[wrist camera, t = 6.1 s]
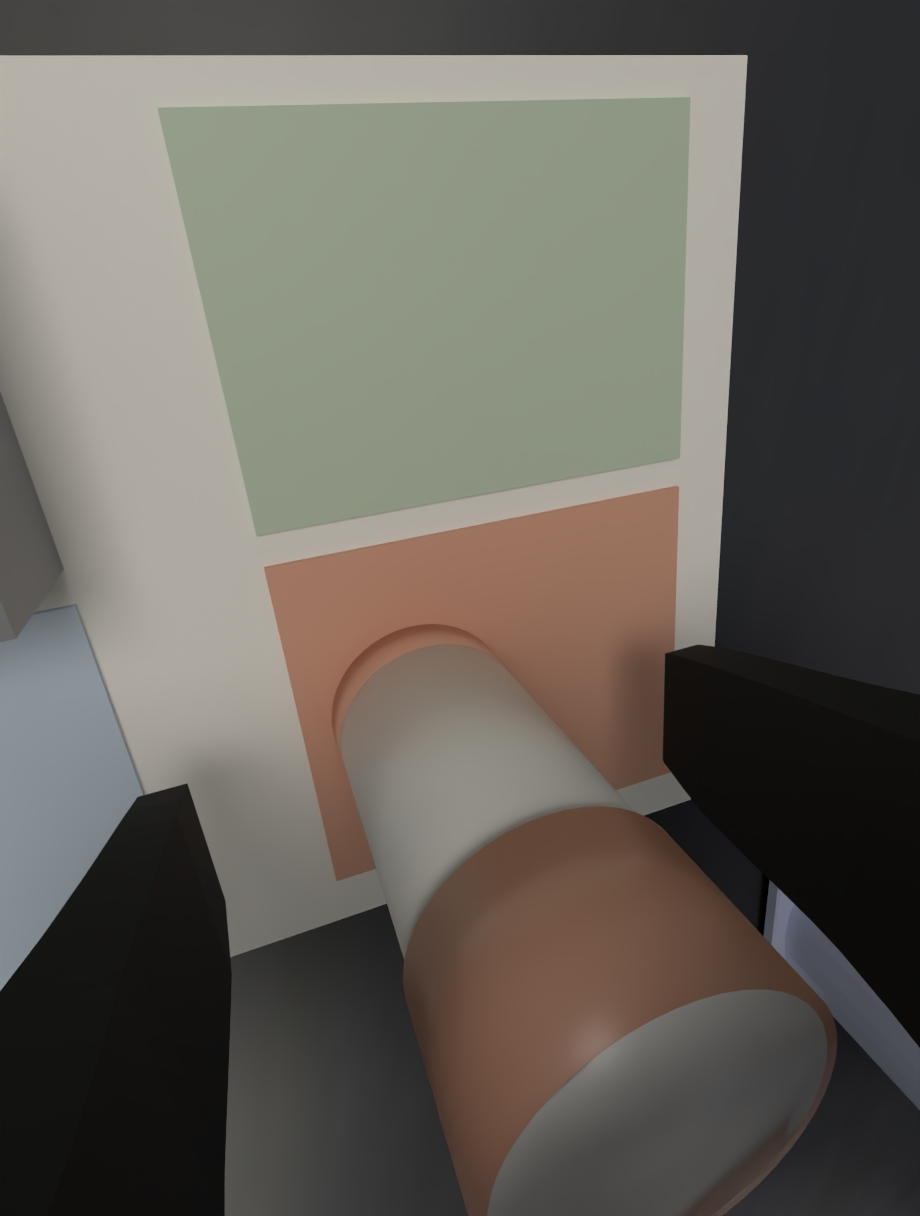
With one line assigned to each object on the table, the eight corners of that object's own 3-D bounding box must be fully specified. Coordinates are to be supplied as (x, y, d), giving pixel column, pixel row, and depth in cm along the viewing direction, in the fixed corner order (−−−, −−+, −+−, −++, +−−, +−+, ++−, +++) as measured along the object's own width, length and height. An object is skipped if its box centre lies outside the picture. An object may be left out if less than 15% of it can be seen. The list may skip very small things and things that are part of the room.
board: (701, 80, 10) (752, 52, 9) (678, 768, 15) (709, 796, 14) (-772, 97, 6) (-957, 49, 5) (-133, 1033, 11) (-165, 1097, 10)
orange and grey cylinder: (502, 600, 11) (862, 919, 5) (514, 759, 12) (813, 1172, 6) (310, 644, 10) (451, 1094, 4) (344, 810, 11) (492, 1346, 5)
